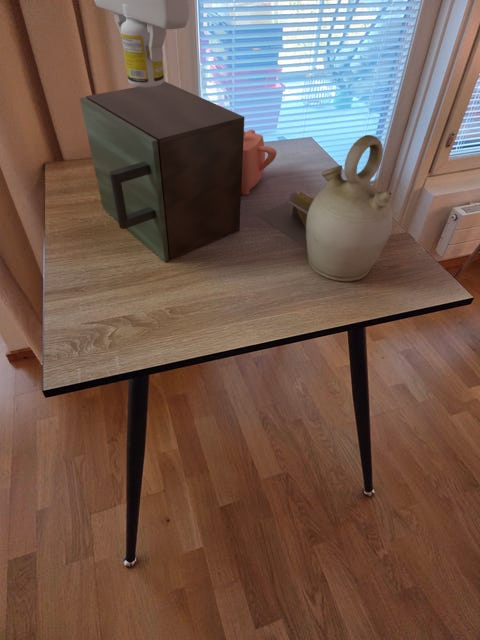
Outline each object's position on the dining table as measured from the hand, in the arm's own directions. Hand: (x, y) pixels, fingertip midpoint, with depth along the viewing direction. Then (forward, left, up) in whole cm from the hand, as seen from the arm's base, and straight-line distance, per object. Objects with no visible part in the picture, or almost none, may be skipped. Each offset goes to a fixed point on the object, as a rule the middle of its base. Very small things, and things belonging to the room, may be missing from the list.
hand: (142, 55), depth 61 cm
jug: (+25, -25, -34) cm, 49 cm away
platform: (+30, -10, -34) cm, 47 cm away
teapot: (+30, +13, -34) cm, 47 cm away
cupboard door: (-5, +9, -34) cm, 35 cm away
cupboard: (+8, +9, -34) cm, 36 cm away
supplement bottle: (0, 0, -4) cm, 4 cm away
